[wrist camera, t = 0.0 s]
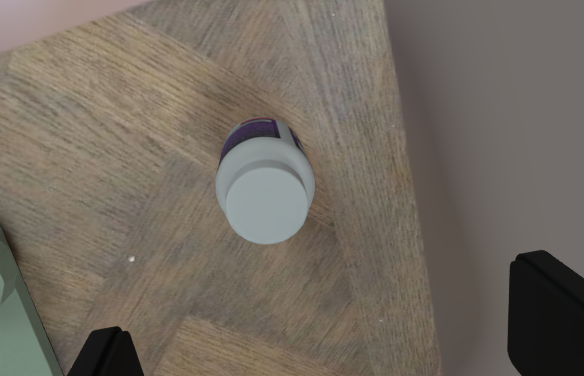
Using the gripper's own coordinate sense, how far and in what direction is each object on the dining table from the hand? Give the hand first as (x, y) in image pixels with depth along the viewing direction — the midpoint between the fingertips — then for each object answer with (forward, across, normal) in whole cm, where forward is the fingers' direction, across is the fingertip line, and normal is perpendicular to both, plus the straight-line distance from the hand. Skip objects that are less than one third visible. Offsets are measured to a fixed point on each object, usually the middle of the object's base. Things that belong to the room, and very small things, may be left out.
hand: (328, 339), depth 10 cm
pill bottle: (+20, +1, 0) cm, 20 cm away
